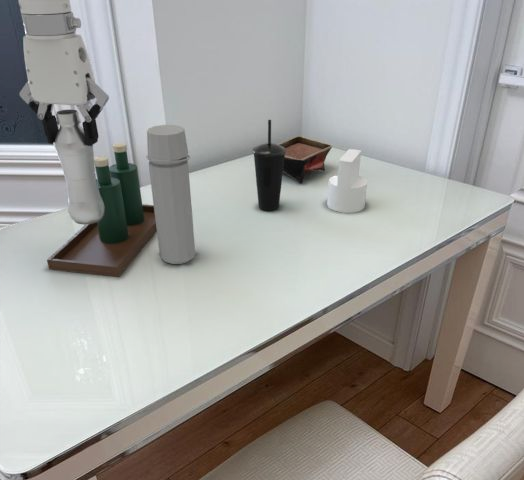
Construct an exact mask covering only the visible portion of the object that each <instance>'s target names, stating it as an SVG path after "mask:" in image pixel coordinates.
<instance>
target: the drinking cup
mask: <svg viewBox="0 0 524 480" xmlns="http://www.w3.org/2000/svg"><path fill="white" fill-rule="evenodd" d="M278 144H279V143H275V142H274V143H272V119H268V120H267V142H266V143H261V144H259V145H256V146H254V147H252V150H251V151H252V154H253V160H254V161H253V162H254V169H255V181H256V193H257V204H258V209H259V210H261V211H264V212H274V211H277V210H279V208H280V202H281V201H280V199H281V191H282V183H283V174H284V172H283V166H284V158H285V154H286V148H284V147H282V146H280V145H278Z"/></svg>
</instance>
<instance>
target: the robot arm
mask: <svg viewBox="0 0 524 480" xmlns="http://www.w3.org/2000/svg"><path fill="white" fill-rule="evenodd" d="M17 1H18V6H19V10H20V15H21V19H22V24H23V28H24V32H25V35H24V36H23V38H22V40H23V42H22V44H23V45H22V46H23V56H24V65H25V71H26V78H27V81H26V83H25V84H24V86H22V89H20V91H19V93H18V95H19V97H20V98H21V99H22V101H24V102H25V103H26V104H27V105H28V107H29V108H30V109H31V110H32V111H33V112H34V113H35V114H36V116H37V118H38V119H39V120H41V122H42V126H43V127H42V128H43V131H44V135H45V137H46V140H47V143H48V144H51V145H52V144H55V138H56V135H57V133H58V131H59V125H58V124H57V117H56V114H55V115H54V114H53V110H54V105H60V106H61V105H62V106H76V108H77V109H78V112H79V113H80V114H81V116H82V117H83V119H84V121H83V122H81V123H82V128H83V130H84V135H85V140H86V145H87V146H92V145H93V146H94V145H95V144H96V143H98V141H99V130H98V124H97V118H98V117H99V115H100V113H101V112H102V111H103V110H104V107H105V106H106V104H107V103H108V102H109V100H110V96H109V94H107V92H106V91H104V90H103V88H102V87H100V86H99V85H98V84H97V83H96V80H95V76H94V71H93V68H92V64H91V63H92V62H91V60H90V56H89V53H88V51H87V50H88V49H87V48H86V45H85V42H84V40H83V37H82V34H76V32H77V29H81V27H82V21H81V18H79V17H75V15H74V11H72V7H71V6H72V5H71V0H17ZM95 99H96V101H95V102H94V104H93V103H92V100H95Z"/></svg>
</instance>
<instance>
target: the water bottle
mask: <svg viewBox="0 0 524 480" xmlns="http://www.w3.org/2000/svg"><path fill="white" fill-rule="evenodd" d="M146 145H147V155H146V160H148V161H149V162H148V163H147V164H148V171H149V180H150V188H151V194H152V196H151V197H152V202H153V204H152V205H154V212H155V220H156V228H157V232H156V234H157V235H156V237H157V243H158V250H159V257H160V258H161V259H162V261H164V263H168V264H171V265H180V264H185V263H189V262H190V261H192V260H193V259H194V258H195V256H196V245H195V244H196V243H195V242H196V241H195V234H194V233H195V231H194V219H193V206H192V194H191V193H192V192H191V184H190V183H191V182H190V169H189V160H191V155H189V148H188V142H187V137H186V131H185V128H184V127H183V126H181V125H176V124H160V125H154V126H151V127H149V128H148V129H147V130H146Z"/></svg>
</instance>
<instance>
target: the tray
mask: <svg viewBox="0 0 524 480" xmlns="http://www.w3.org/2000/svg"><path fill="white" fill-rule="evenodd" d="M142 206H143V213H144V221H143V222H142V223H140V224H137V225H132V226H127V228H128V234H129V237H128V239H126V240H125V241H123V242H120V243H104V242H102V241H101V240H100V236H99V230H98V225H97V223H93V224H84V225H83V226H82V227H80V229H79V230H78V231H77V232H75V233H74V235H72V236H71V237H70V238H69V239H68V240H67V241H65V243H64V244H62V245H61V246H60V247H59V248H58V249H57V250H56V251H55V252H54V253H52V254H51V255H50V256H49V257H47V259H46V263H47V266H48V270H52V271H60V272H68V273H69V272H71V273H79V274H88V275H97V276H106V277H117V278H119V277H120V276H121V275H122V274H123V272H124V271H125V270H126V269H127V268H128V266H129V265H130V264H131V263H132V262H133V261H134V259H135V258H136V257H137V256H138V254H139V253H140V252H141V251H142V250H143V248H145V246H146V245H147V243H148V242H149V241H150V240H151V239H152V238H153V237H154V235H155V234H157V228H156V220H155V212H154V204H144V203H142Z"/></svg>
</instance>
